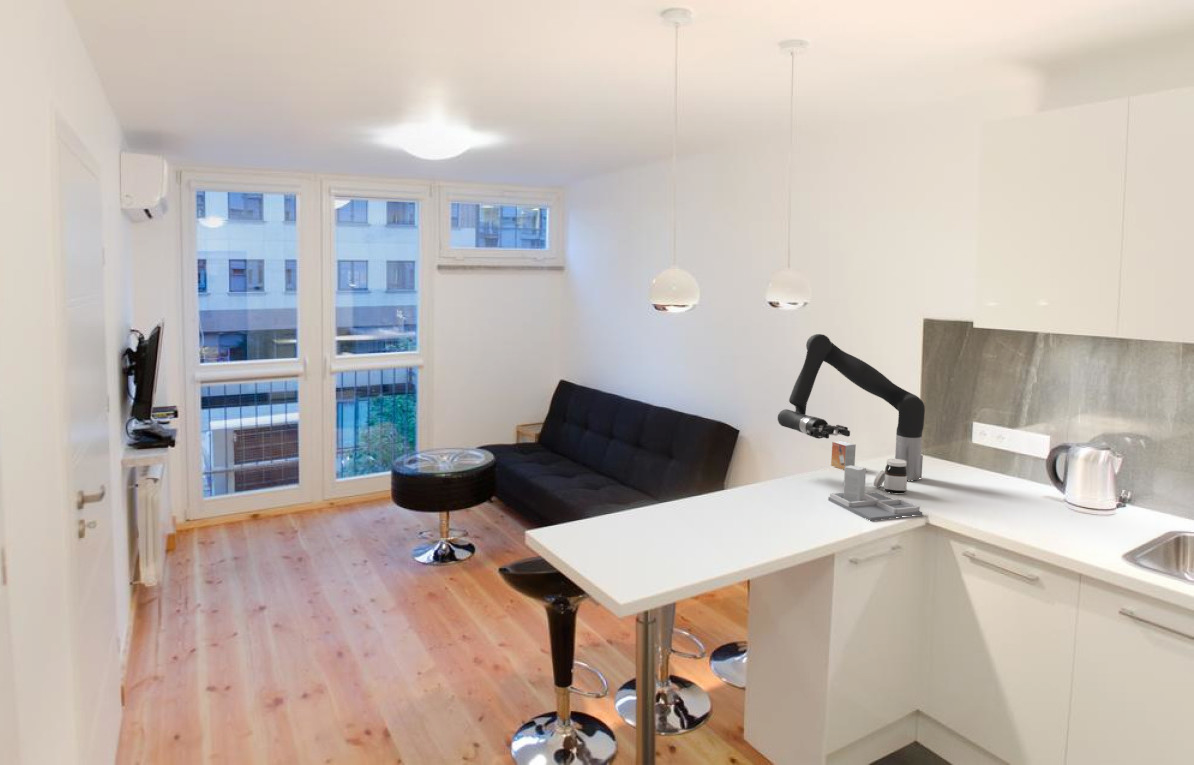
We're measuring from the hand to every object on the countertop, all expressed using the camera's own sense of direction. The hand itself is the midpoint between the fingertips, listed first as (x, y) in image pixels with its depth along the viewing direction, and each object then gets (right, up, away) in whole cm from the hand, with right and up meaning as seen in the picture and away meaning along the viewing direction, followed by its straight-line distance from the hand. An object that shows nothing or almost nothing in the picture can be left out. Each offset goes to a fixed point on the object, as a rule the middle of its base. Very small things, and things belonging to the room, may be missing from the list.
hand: (838, 434), depth 265 cm
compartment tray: (+8, -24, -11) cm, 28 cm away
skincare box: (+3, -23, -7) cm, 24 cm away
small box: (+16, -17, +43) cm, 48 cm away
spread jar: (+22, -22, +9) cm, 32 cm away
